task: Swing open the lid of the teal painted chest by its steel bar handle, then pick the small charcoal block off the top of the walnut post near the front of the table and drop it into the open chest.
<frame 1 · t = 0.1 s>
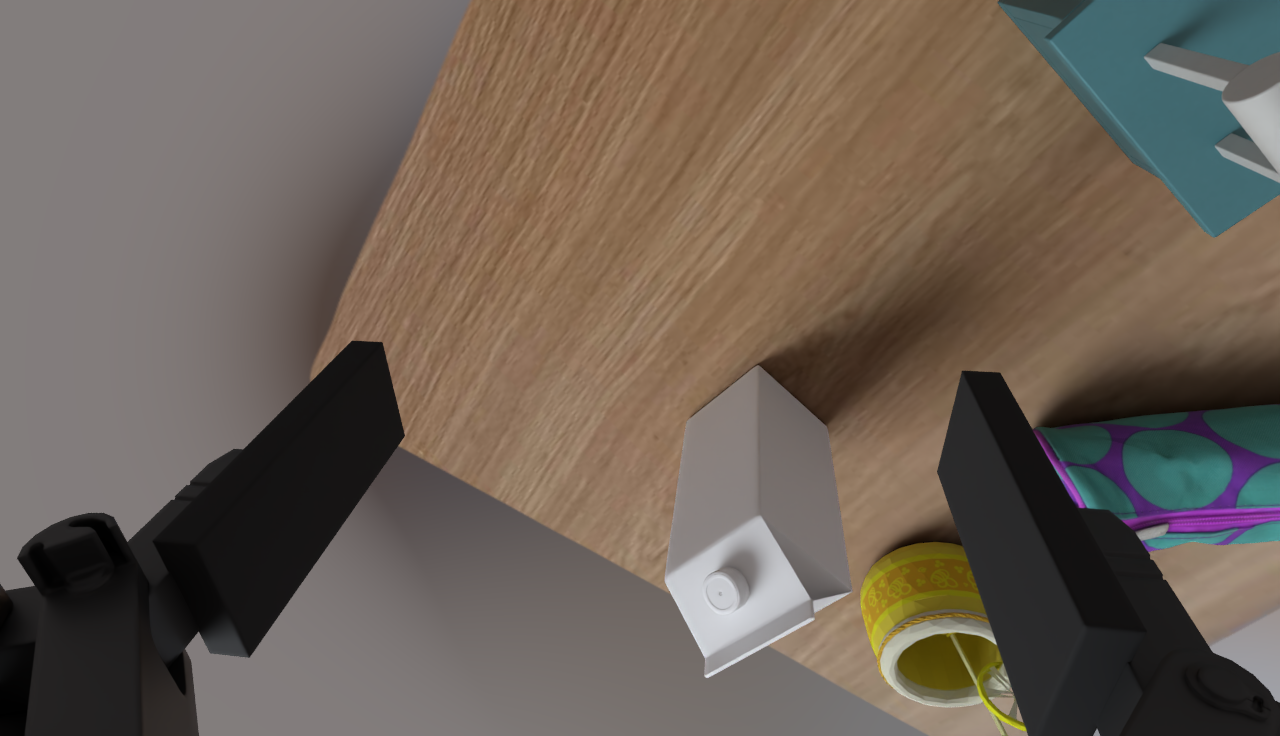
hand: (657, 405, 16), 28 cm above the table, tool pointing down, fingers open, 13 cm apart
milk carton: (755, 421, 51), on the table
yellow pot: (934, 586, 57), on the table
pencil case: (1187, 434, 47), on the table
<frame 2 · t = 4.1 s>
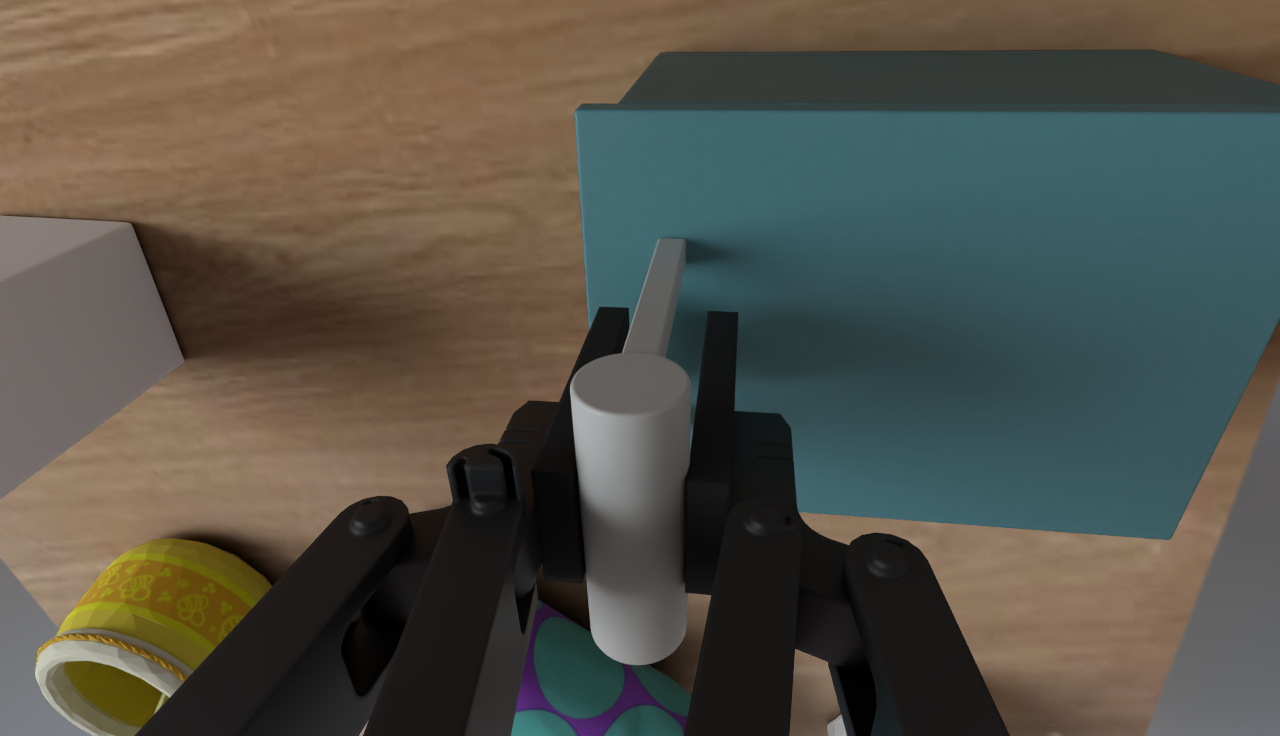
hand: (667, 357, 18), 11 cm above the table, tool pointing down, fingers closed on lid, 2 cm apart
milk carton: (97, 288, 33), on the table
yellow pot: (223, 597, 44), on the table
chest: (869, 221, 27), on the table
lid: (934, 430, 15), point 13 cm above the table, hinge at 0.0°, touching gripper
pencil case: (541, 617, 41), on the table
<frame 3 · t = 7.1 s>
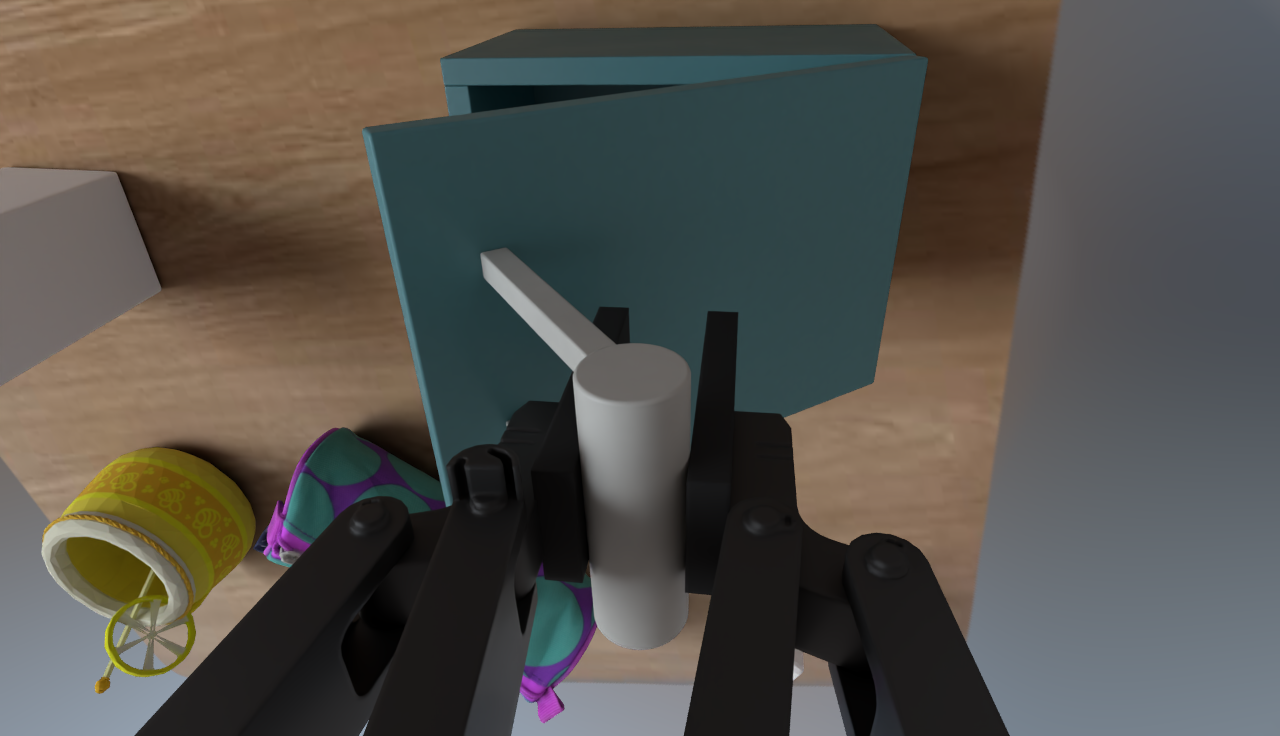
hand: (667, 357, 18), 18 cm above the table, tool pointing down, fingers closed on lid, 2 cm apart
milk carton: (90, 228, 41), on the table
yellow pot: (201, 504, 52), on the table
chest: (688, 162, 34), on the table
lid: (774, 346, 19), point 18 cm above the table, hinge at 37.7°, touching gripper
pencil case: (466, 515, 49), on the table
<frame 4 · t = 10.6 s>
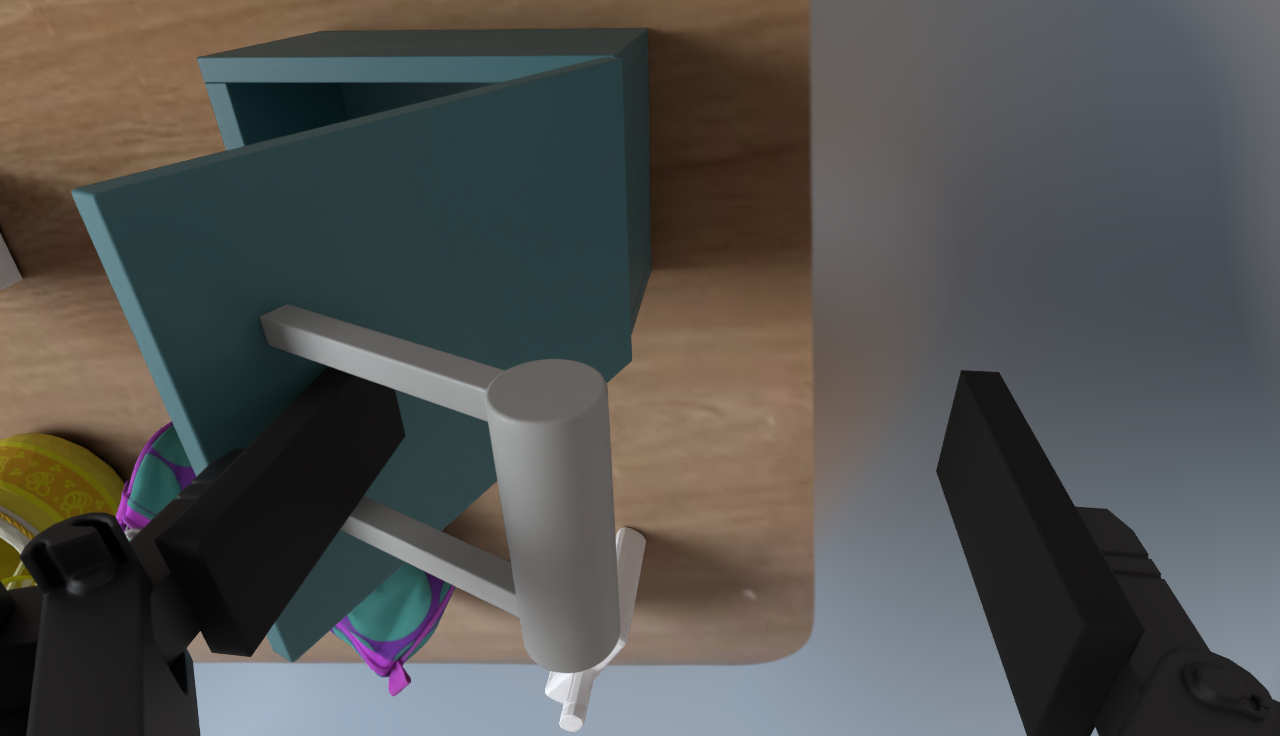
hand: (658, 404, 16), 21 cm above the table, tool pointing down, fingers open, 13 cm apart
yellow pot: (84, 489, 54), on the table
chest: (495, 157, 36), on the table
perfume bottle: (608, 561, 50), on the table
lid: (586, 342, 19), point 19 cm above the table, hinge at 68.1°
pencil case: (335, 499, 51), on the table
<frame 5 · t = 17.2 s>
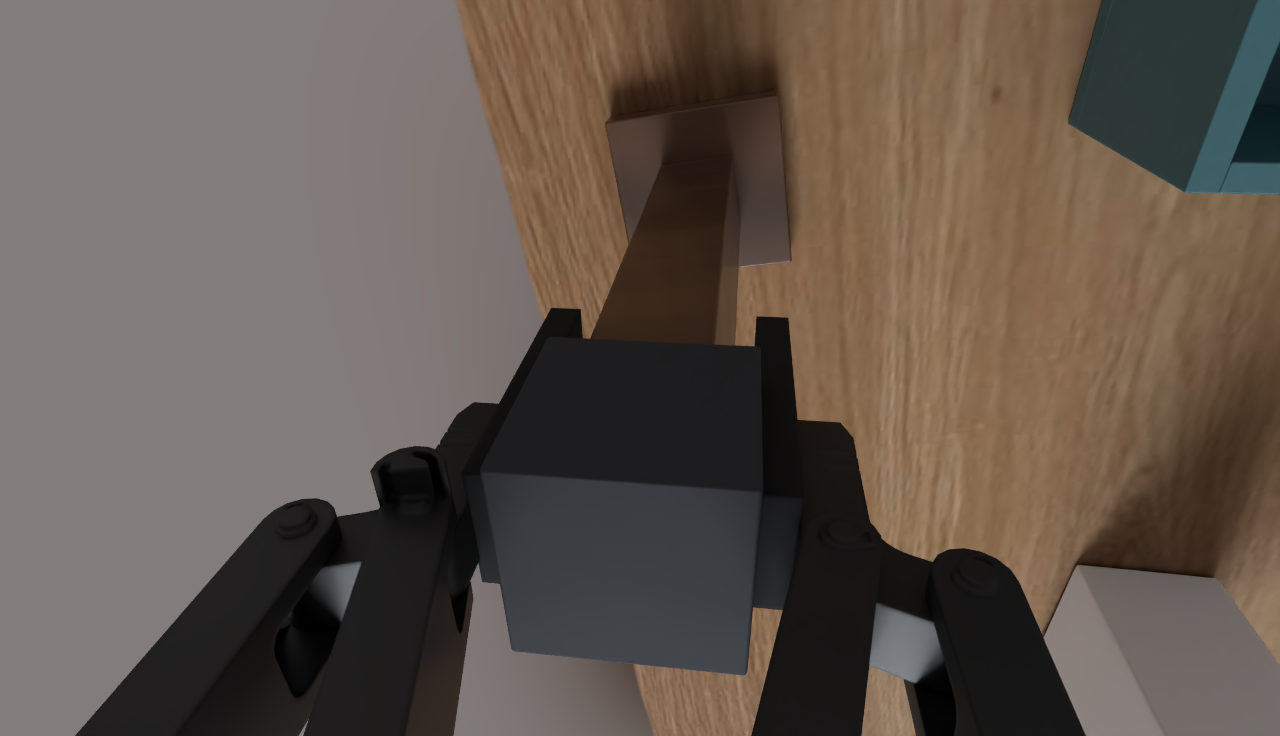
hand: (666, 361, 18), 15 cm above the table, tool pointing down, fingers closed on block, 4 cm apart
milk carton: (1120, 609, 40), on the table
post stand: (702, 186, 31), on the table
block: (653, 427, 16), point 18 cm above the table, touching gripper, post stand
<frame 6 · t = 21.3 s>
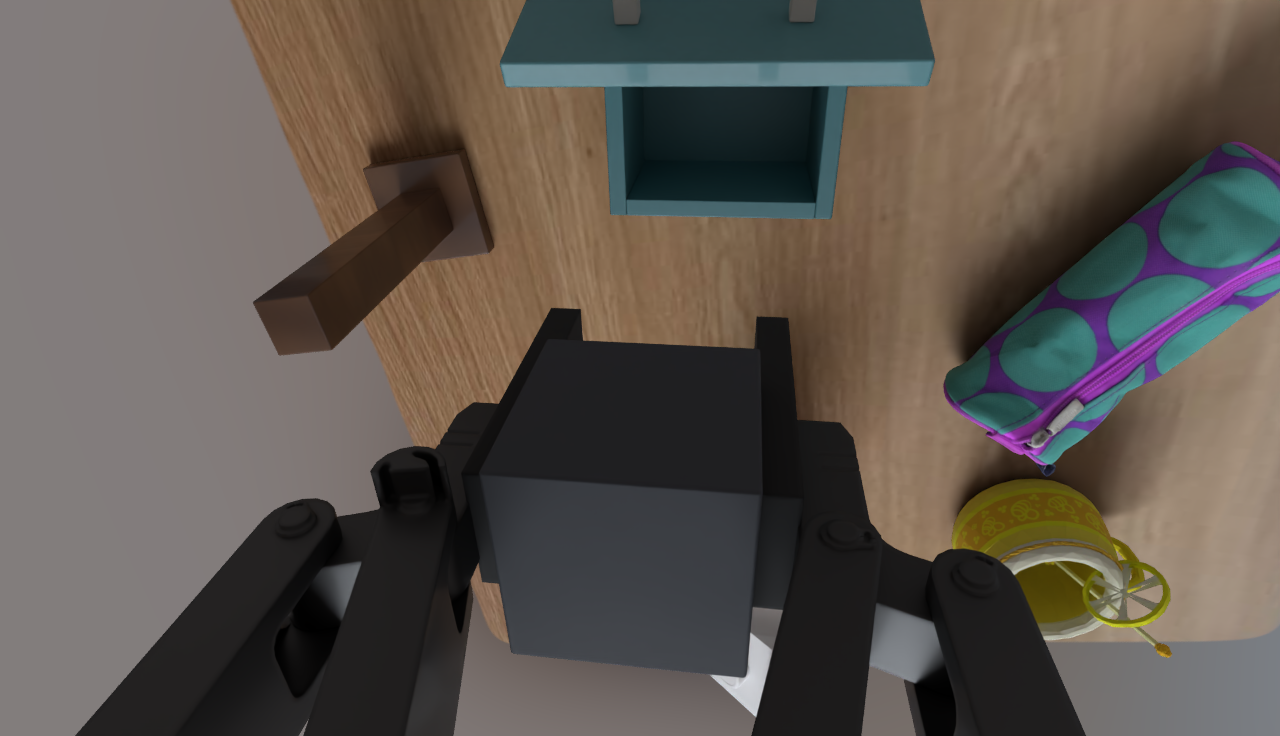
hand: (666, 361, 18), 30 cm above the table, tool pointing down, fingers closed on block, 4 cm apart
milk carton: (763, 491, 59), on the table
post stand: (433, 206, 49), on the table
block: (653, 429, 16), point 33 cm above the table, touching gripper
yellow pot: (1030, 520, 57), on the table
chest: (729, 35, 41), on the table
pencil case: (1094, 284, 46), on the table
when the fingers open (10 cm above the table, at t = 25.6 s): block drops 12 cm, resting on chest.
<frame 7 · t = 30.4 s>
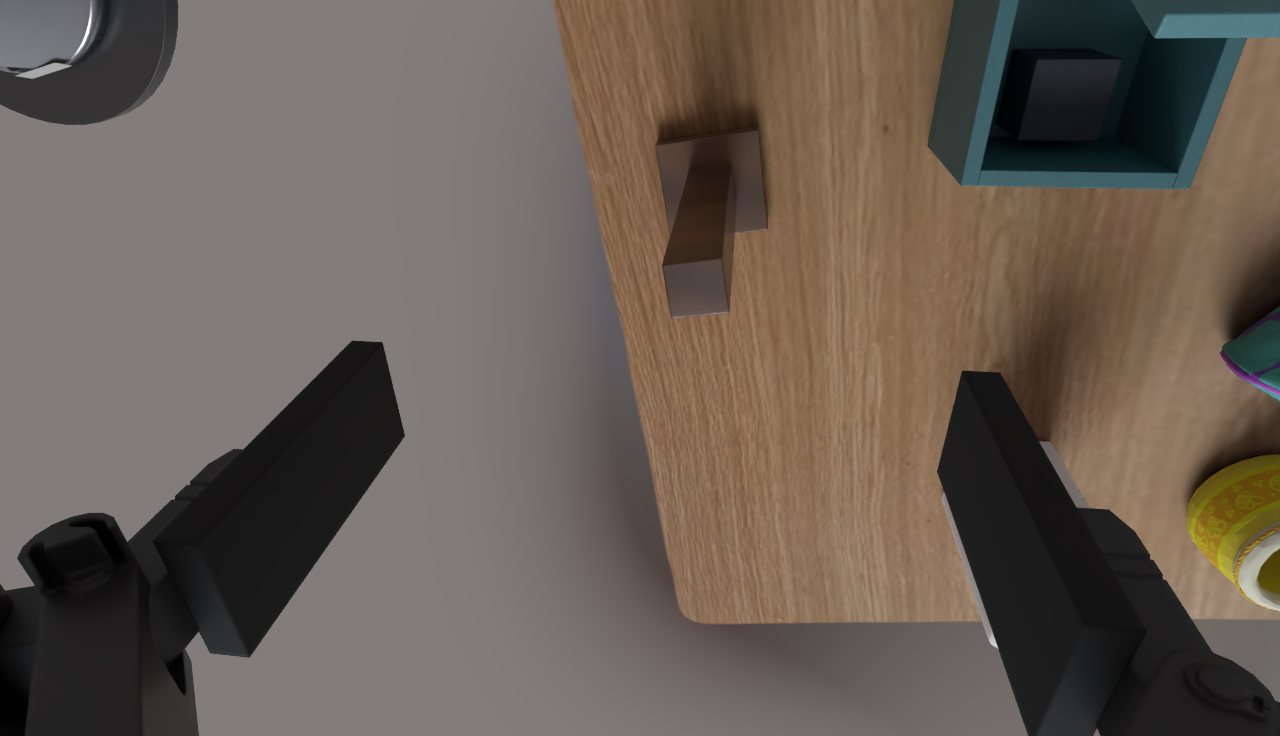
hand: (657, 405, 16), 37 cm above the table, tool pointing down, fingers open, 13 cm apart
milk carton: (992, 468, 60), on the table
post stand: (713, 183, 50), on the table
block: (1041, 87, 44), point 1 cm above the table, touching chest
yellow pot: (1263, 497, 58), on the table
chest: (1054, 13, 42), on the table
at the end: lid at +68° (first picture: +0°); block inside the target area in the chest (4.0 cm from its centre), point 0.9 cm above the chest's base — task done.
